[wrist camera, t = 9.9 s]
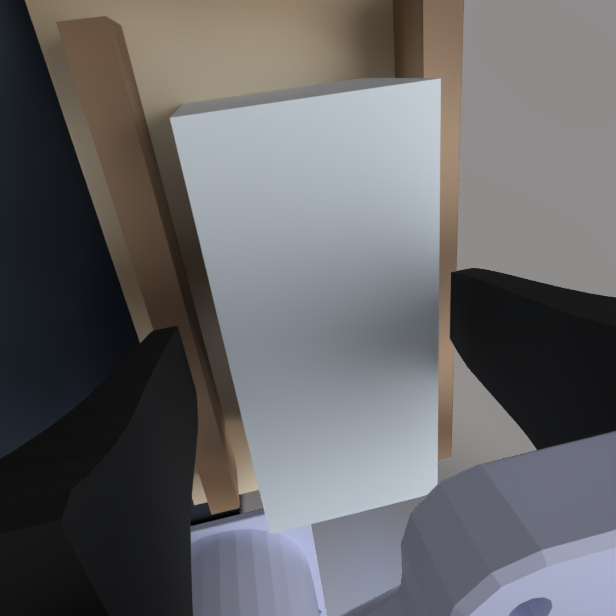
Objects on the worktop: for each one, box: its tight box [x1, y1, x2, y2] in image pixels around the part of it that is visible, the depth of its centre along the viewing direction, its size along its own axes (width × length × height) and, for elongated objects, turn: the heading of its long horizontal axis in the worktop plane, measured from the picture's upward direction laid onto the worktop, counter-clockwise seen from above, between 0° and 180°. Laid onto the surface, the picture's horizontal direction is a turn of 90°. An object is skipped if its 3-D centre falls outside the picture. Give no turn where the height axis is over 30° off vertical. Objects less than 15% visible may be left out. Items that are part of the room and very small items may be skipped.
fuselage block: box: [170, 78, 441, 534], centre depth 13 cm, size 11×5×5 cm, turn 7°
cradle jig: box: [25, 0, 464, 514], centre depth 15 cm, size 18×11×3 cm, turn 7°
